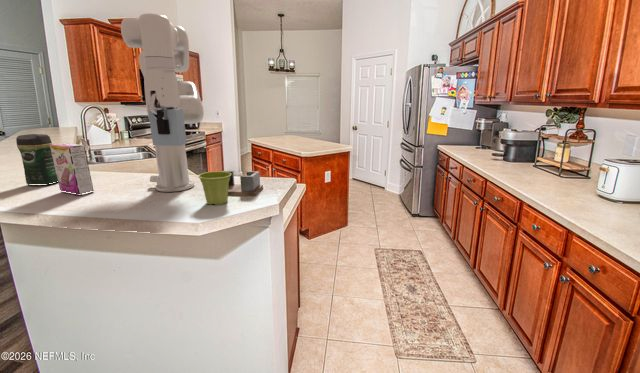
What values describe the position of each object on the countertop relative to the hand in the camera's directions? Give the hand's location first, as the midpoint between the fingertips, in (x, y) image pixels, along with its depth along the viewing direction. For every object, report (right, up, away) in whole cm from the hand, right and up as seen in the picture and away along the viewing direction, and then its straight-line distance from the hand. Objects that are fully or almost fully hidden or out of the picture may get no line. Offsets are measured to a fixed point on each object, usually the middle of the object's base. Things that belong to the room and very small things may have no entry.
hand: (168, 132), depth 93 cm
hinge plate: (+16, -17, +17) cm, 29 cm away
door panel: (0, -3, +1) cm, 3 cm away
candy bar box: (-39, -18, +17) cm, 46 cm away
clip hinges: (+16, -16, +17) cm, 28 cm away
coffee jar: (-60, -15, +28) cm, 68 cm away
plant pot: (+12, -20, +6) cm, 25 cm away
